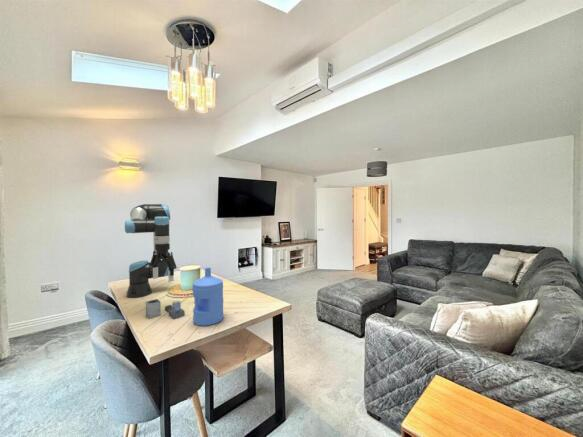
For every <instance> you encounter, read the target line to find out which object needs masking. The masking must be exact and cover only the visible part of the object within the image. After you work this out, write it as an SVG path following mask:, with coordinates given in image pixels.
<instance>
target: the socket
mask: <svg viewBox="0 0 583 437" xmlns="http://www.w3.org/2000/svg"><path fill="white" fill-rule="evenodd" d="M161 304H162V303H161V300H159V299H158V298H156V299H152V300H146V301H145V306H144V307H145V316H146V318H147V319H148V320H151V319H153V318H156V317H160V316H162V313H161V312H162V306H161Z"/></svg>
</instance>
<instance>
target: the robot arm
mask: <svg viewBox="0 0 583 437" xmlns="http://www.w3.org/2000/svg"><path fill="white" fill-rule="evenodd" d="M129 216H130V219H129V220H128V219H127V220H125V221H124V232H125V233H126V234H143V233H144V234H146V233H152V234H153V235H152V236H153V240H152V241H153V251H152V257H151V261H149V260H147V259H146V260H140V261H136V262H135V261H134V262H133V263H131V264H129V266H128V273H129V274H128V275H129V277H128V278H129V281H128V282H129V285H128V289H127V291H126V298H129V299H130V298H131V299H134V298H135V299H136V298H142V297H146V296H149V295H151V294H152V293H153V291H152V290H153V289H152V288H151V285H150V282H149V279H153V280H156V279H159V278H165V277H167V279H168V283H170V282H173V281H174V277H175V276H174V275H175V270H176V269H177V265H176V262H175V259H174V255H173V252H172V251H170V252H169V250H170V249H171V245H170V242H171V240H170V239H171V238H170V220H171V212H170V207H169V205H168V204H166V203H165V204H163V203H162V204H161V203H157V204H155V203H144V204H139V205H136V206H135V207H133V208H132V209H131V210H130V213H129Z"/></svg>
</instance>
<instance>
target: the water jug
mask: <svg viewBox="0 0 583 437" xmlns="http://www.w3.org/2000/svg"><path fill="white" fill-rule="evenodd" d="M211 270H212V268H211V267H206V268H204V276H202V277H201V278H199V279H196V280H195V281H194V282H193V283H192V296H193V299H194V298H195V303H194V307H193V308H192V312H193V318H192V321H193V323H194V324H195V325H198V326H203V327H206V326H212V325H215V324H218V323H219V322H221V321H223V319H224V316H225V315H224V280H223V279H222V278H219V277H216V276H214V275H212V271H211ZM198 299H199V301H198Z"/></svg>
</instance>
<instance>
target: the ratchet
mask: <svg viewBox="0 0 583 437" xmlns="http://www.w3.org/2000/svg"><path fill="white" fill-rule="evenodd" d="M181 306H182V305H181V301H180V300H175V301H172V303H171V304H169V305H165V306H164V311H166V312H167V313H168V317H170V318H171V319H172V320H176V319H179V318H183V317H185V315H186V314H185V310H184V309H183V308H181Z"/></svg>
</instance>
